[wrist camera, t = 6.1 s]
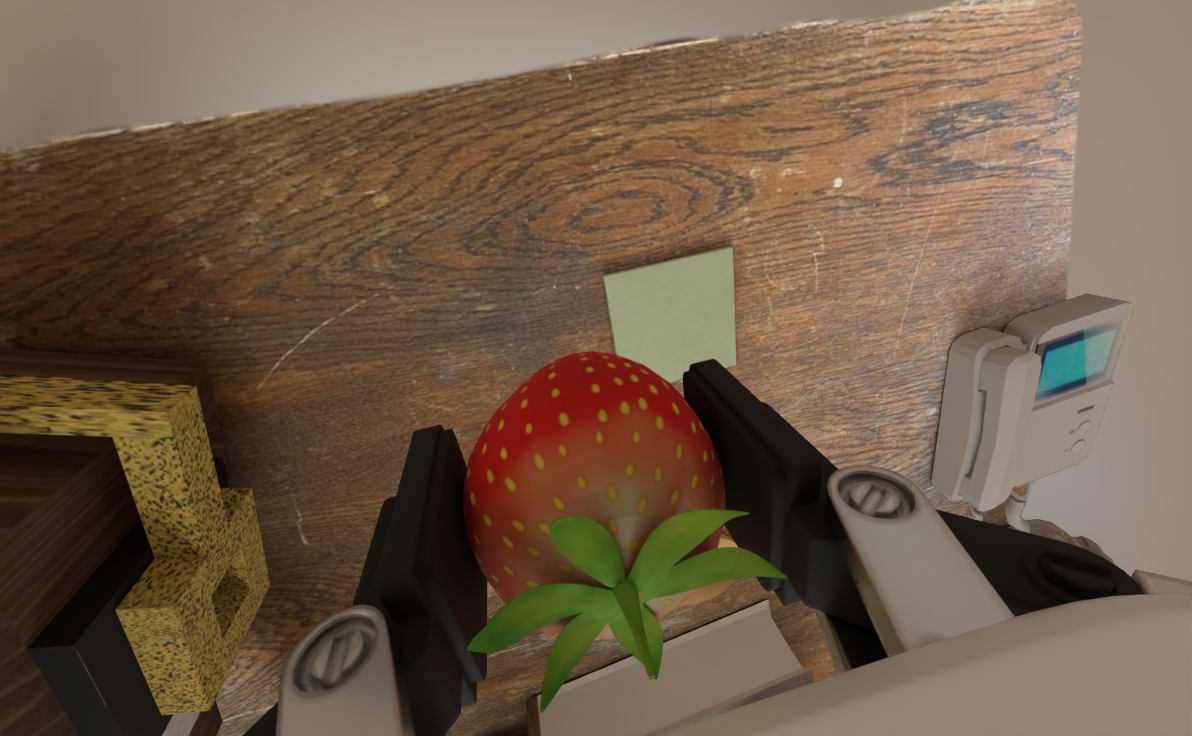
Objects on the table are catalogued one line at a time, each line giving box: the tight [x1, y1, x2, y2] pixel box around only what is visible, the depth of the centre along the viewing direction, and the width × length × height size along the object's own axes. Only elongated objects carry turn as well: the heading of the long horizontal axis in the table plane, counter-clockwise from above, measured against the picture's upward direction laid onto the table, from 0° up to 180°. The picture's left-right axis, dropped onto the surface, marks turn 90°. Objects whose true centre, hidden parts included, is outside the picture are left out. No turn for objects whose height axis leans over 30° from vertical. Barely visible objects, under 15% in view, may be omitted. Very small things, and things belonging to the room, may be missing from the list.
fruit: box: [463, 352, 787, 713], centre depth 9 cm, size 5×5×8 cm
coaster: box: [681, 534, 738, 605], centre depth 39 cm, size 8×8×1 cm
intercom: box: [931, 294, 1133, 533], centre depth 38 cm, size 13×4×25 cm
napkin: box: [603, 246, 736, 382], centre depth 28 cm, size 8×8×1 cm
